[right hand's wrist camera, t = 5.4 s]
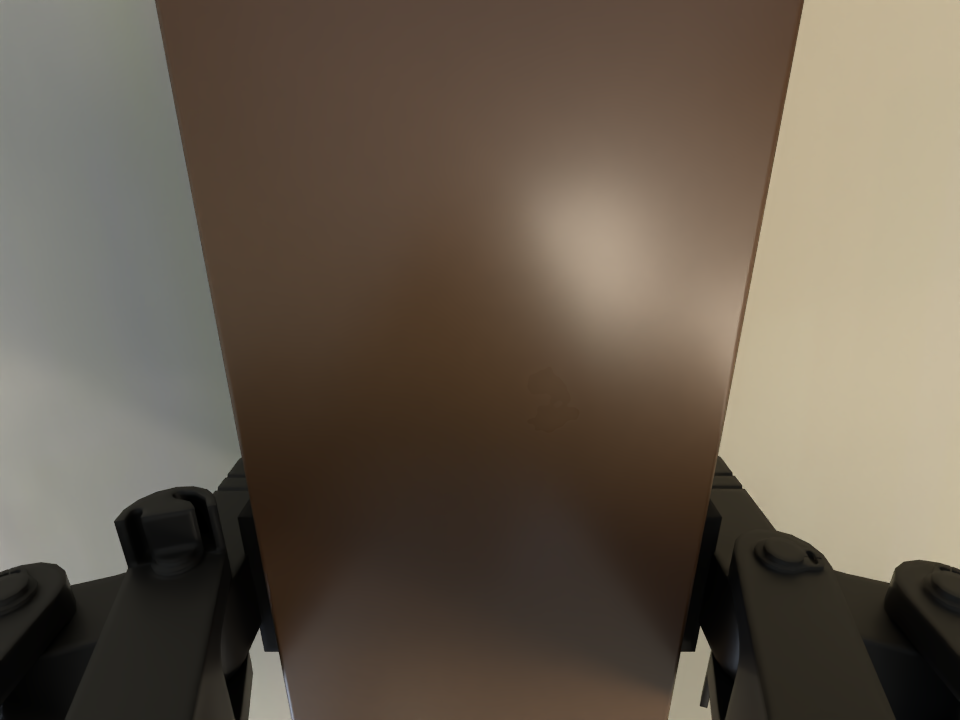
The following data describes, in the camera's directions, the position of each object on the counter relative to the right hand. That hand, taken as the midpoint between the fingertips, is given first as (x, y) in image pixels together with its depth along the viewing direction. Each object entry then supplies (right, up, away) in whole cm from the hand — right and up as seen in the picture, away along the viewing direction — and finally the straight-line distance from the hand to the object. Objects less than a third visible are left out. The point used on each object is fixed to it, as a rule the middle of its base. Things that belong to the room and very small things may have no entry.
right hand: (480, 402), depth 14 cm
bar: (0, +19, -7) cm, 20 cm away
